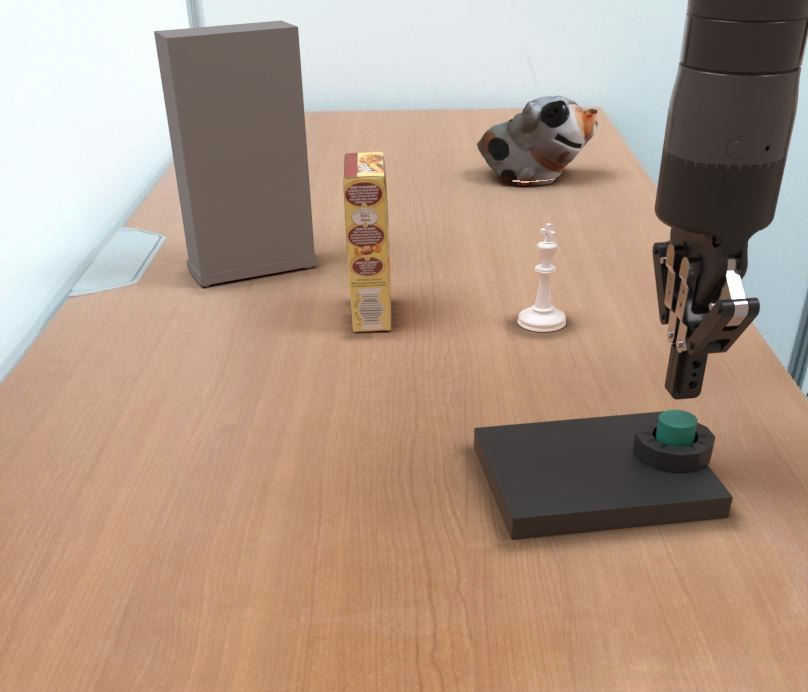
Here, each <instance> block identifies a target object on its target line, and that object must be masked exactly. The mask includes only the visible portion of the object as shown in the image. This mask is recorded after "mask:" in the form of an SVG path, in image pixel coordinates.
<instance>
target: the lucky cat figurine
mask: <svg viewBox="0 0 808 692" xmlns="http://www.w3.org/2000/svg"><path fill="white" fill-rule="evenodd" d="M598 112H599V111H598V109H594V108H589V109H583V108H582V107H581V106H580V105H578V103H577V102H576V101H574V100H572V99H571V98H568V97H567V96H562V95H555V96H551V95H545V96H542V97H537V98H536V99H533V100H530V101H528V102H527V103H526V104H525V106H524V107H523V109H522V111H521V112H519V113H516V114H515V115H514V116H513V118H511V119H508V120H507V121H503V122H501V123H498V124H494V125H493V126H490V128H488V129H487V130H486V131H485V132H484V133H483V135H482V137H481V138H480V139H479V140H478V142H476V146H477V150H478V151H479V153H480V155H481V156H482V158H483V159H484V160H485V162H486V164H487V166H488V167H489V168H490V170H492V171H493V172H494V173H495V174H496V175H498V176H499V177H500V178H502V179H506V178H507V179H508V178H509V179H510V181H511V180H520V181H536V180H548V179H549V180H548V181H539V182H529V183H521V182H512V181H511V183H512V185H513V186H516V187H533V186H535V187H536V186H545V185H551V184H552V183H553V182H554V181H555V180H556V179H557V178H558V177H560V176H561V175H562V172H563V171H564V169H565V168H566V167H567V166H568V165H569V164H571V163H572V162H573V161H574V159H576V157H577V156H578V155H579V154H580V152H581V151H582V150H583V148H584V147H585V146H586V145H587V144H588V142H589V141H590V140H591V139H592V138H593V137H594V136H595V135H596V130H597V128H598V126H599V122H598V120H597V114H598ZM554 178H556V179H554ZM550 179H554V180H550Z"/></svg>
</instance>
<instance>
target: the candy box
mask: <svg viewBox="0 0 808 692" xmlns="http://www.w3.org/2000/svg"><path fill="white" fill-rule="evenodd" d="M342 184H343V202H344V203H343V204H344V222H345V236H346V238H345V239H346V240H345V241H346V254H347V269H348V271H347V272H348V281H349V282H348V283H349V298H350V299H349V300H350V311H351V323H352V324H351V325H352V332H353V333H359V332H361V333H362V332H382V331H386V332H389V331H391V330H392V292H391V291H392V290H391V287H392V286H391V284H392V283H391V255H390V226H389V225H390V224H389V207H388V205H389V203H388V189H387V173H386V163H385V153H384V152H383V151H371V152H369V151H368V152H366V151H365V152H345V153H344V157H343V177H342Z"/></svg>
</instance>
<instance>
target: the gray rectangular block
mask: <svg viewBox="0 0 808 692" xmlns="http://www.w3.org/2000/svg"><path fill="white" fill-rule="evenodd" d="M153 35H154V40H155V41H154V42H155V49H156V54H157V62H158V68H159V73H160V80H161V86H162V87H161V88H162V93H163V94H162V95H163V100H164V107H165V114H166V120H167V126H168V127H167V128H168V133H169V140H170V146H171V147H170V148H171V152H172V159H173V166H174V172H175V179H176V184H177V185H176V186H177V192H178V193H177V194H178V200H179V205H180V212H181V218H182V225H183V233H184V238H185V239H184V240H185V245H186V246H185V247H186V251H187V252H186V253H187V259H185V262H186V268H187V270H188V272H189V273H190V274H191V275H192V276H193V278H194V279H195V280H196V281H197V283H198V284H199V285H200V287H203V288H208V287H210V286H211V285H215V284H220V283H221V284H222V283H226V282H230V281H231V282H233V281H238V280H243V279H248V278H254V277H260V276H264V275H265V276H266V275H271V274H276V273H282V272H288V271H295V270H299V269H312V268H313V267H315V266H318V257H317V255H316V253H315V252H316V251H315V237H314V225H313V213H312V199H311V184H310V183H311V182H310V172H309V160H308V159H309V156H308V144H307V129H306V116H305V103H304V102H305V101H304V100H305V99H304V89H303V76H302V75H303V74H302V61H301V59H302V58H301V47H300V34H299V26H298V25H295V24H292V23H289V22H287V21H285V20H284V21H283V20H271V21H260V22H259V21H258V22H247V23H246V22H245V23H235V24H224V25H211V26H199V27H198V26H197V27H188V28H187V27H186V28H178V29H177V28H174V29H165V30H153Z"/></svg>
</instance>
